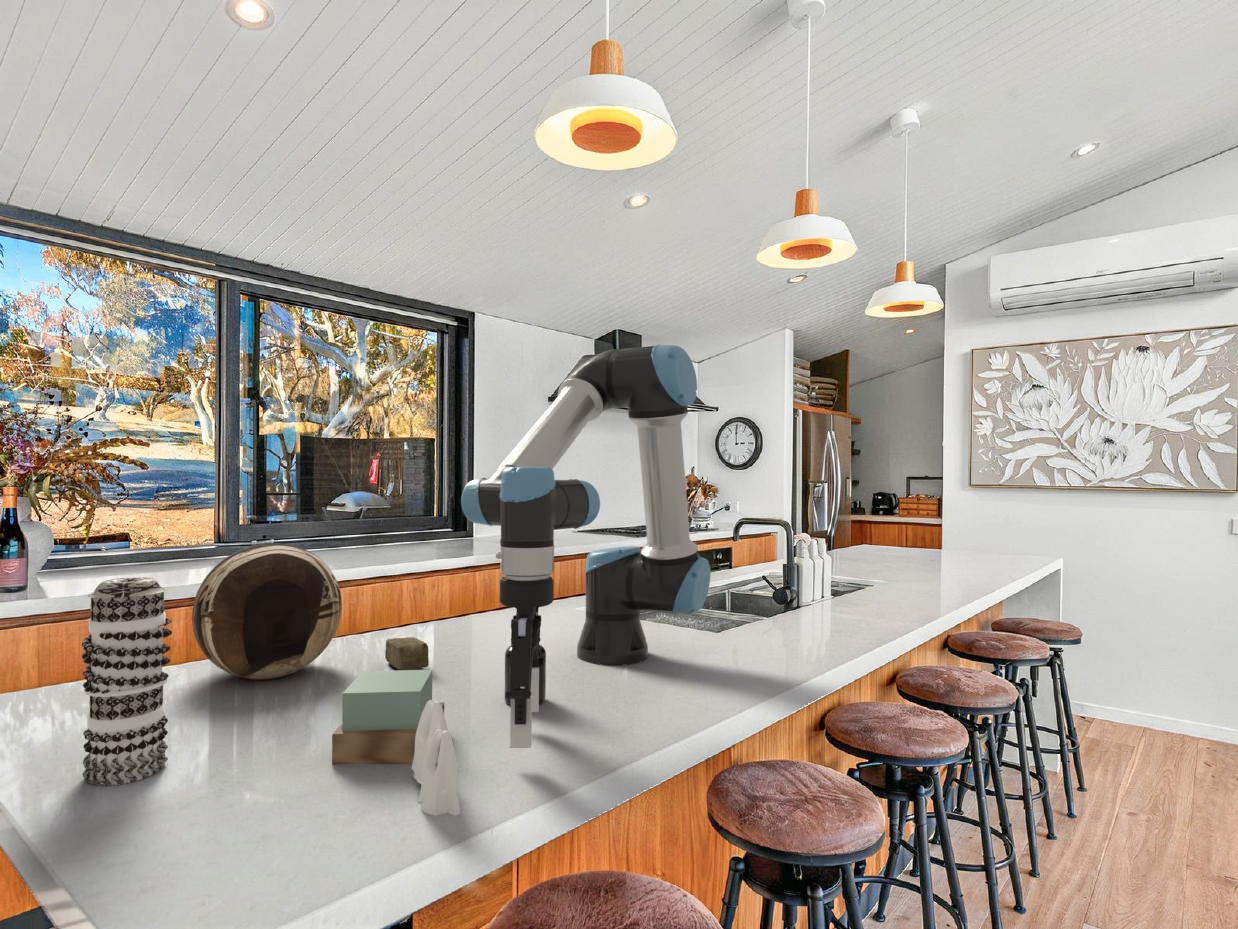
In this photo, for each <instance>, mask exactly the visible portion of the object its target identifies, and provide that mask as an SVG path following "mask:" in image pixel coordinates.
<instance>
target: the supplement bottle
mask: <svg viewBox="0 0 1238 929" xmlns="http://www.w3.org/2000/svg"><path fill="white" fill-rule="evenodd" d="M510 635H511V636H510V641H511V640H512V631H511V632H510ZM540 642H541V637H540V638H539V652H540V656H539V658H544V664H543V666H535V667H539V706H541V705H542V704H543V703H544V702H545V700H546V691H547V690H546V689H547V688H546V687H547V685H546V684H547V683H546V681H547V679H546V678H547V676H546V675H547V672H546V671H547V670H546V669H547V666H546V664H547V653H546V649H545V647H544V646H543V645H542V644H540ZM511 657H512V646H511V645H510V646H508V647H507V648H506V650H505V652H504V693H505V692H509V691H510V675H511ZM516 688H520V687H516ZM504 702H505V704H506V705H507V706H510V707H511V699H505V698H504Z"/></svg>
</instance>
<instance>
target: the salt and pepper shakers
mask: <svg viewBox="0 0 1238 929" xmlns="http://www.w3.org/2000/svg"><path fill="white" fill-rule="evenodd" d="M411 770H412V771H413V778H414V780H416V782H417V783H418V784H420V785H421V786H420V791H419V794H418V799H417V800H418V803H420V811H421V812H423V813H425V814H427V815H431V816H434V817H436V816H437V817H438V816H440V815H441V816H442V815H445V814H450V815H452V816H457V815H460V814H461V810H460V801H459V800H460V799H459V792H458V791H459V762H458V758H457V753H456V750H455V746H454V742H453V739H452V735H451V733H450V732H449V728H448V726H447V722H446V717H445V711H444V712H443V708H442V706H441V703H440V701H438V700H435V701H434V700H433V699H432V700H429V701H428V702H427V704H426V705H425V708H424V710H423V712H422V715H421V718H420V721H419V724H418V728H417V732H416V736H415V753H414V759H413V763H412V764H411Z"/></svg>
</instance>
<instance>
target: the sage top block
mask: <svg viewBox="0 0 1238 929" xmlns="http://www.w3.org/2000/svg"><path fill="white" fill-rule="evenodd" d="M429 700H433V669H412V670H400V669H397V670H367V671H366V670H364V671H361V672H360V674H358V676H357V677H356V678H355V679H354V680H353V681H352V682H351V684H349V685H348V686H347V688H346V689H345V690H344V691H343V692H342V707H341V708H342V712H341V713H342V714H341V715H342V717H341V718H342V719H341V720H342V724H341V725H342V731H365V730H396V729H417V728H418V724H419V721H420V718H421V715H422V712H423V710H424V708H425V705H426V704H427V702H428V701H429Z"/></svg>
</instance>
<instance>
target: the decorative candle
mask: <svg viewBox="0 0 1238 929" xmlns="http://www.w3.org/2000/svg"><path fill="white" fill-rule="evenodd" d="M165 591H167V588H166V587H162V586H161V585H160V584H159V582H158V581H157V580H156V579H154V578H153V577H148V576H147V577H146V576H133V577H132V576H131V577H120V578H119V577H118V578H112V579H107V580H105V581H104V580H103V581H101V583H99V584H98V585H97V586H96V588H95V589H94V591H93V592H91V593H89V594H87V595H86V596H87V597H88V598H90V618H89V619H88V632H89V633H90V635H88V636H86V637H85V638H84V640H83V641H82V642H81V646H82V647H83V650H84V653H82V654H81V659H82V662H83V663H84V664H87V666H86V668H85V670H83V671H82V675H83V677H84V680H85V682H83V684H82V687H83V688H84V693H85V695H87V696H89V702H88V704H89V706H88V707H89V713H88V714H87V720H86V721H87V722H86V724H87V726H86V727H87V729H85V730H84V731H83V736H84V739H85V740H87V742H85V743H84V744H83V745H82V746H83V748H84V752H85V753H88V754H87V755H86V756H85V757H84V758H83V759H82V764H83V767H84V769H85V770H83V772H82V777H83V780H84V781H85V782H86V783H88V784H90V783H91V784H93V785H95V786H96V785H98V786H101V785H100V784H104V785H103V786H105V785H106V787H109V786H108V785H110V786H112V785H111V784H115V785H118V784H121V785H123V783H124V784H126V783H125V782H128V783H134V781H135V782H136V780H137V781H139V780H142V778H143V779H146V778H148V777H150V776H152V775H155V774H157V772H158V771H160V770H161V769H162V768H163V767H164V766H165V765H166V762H168V756H166V750H168V748H169V745H168V744H167V742H166V740H164V739H165V737H166V736H167V735H168V733H169V732H168V730H166V728H165V726H166V724H167V723H168V721H169V719H168V718H167V717H166V715H165V714H166V712H165V702H164V685H165V684H166V683H167V682H168V678H169V674H168V673H166V672H164V670H163V667H165V666H166V665H167V664H169V663H171V659H170V658H169V657H167V656H166V655H165V654H166V653H167V652H169V651H170V650H171V646H170V645H167V644H165V642H164V643H163V639H167V638H168V637H170V636H171V635H172V634H173V631H172V630H171V629H169V628H167V626H168V625H169V624H171V623H172V620H171V619H169V618H167V616H166V613H167V612H165ZM130 781H131V782H130Z"/></svg>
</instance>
